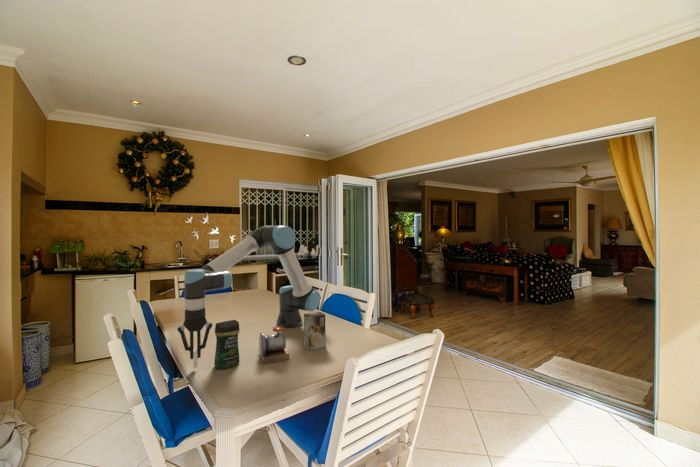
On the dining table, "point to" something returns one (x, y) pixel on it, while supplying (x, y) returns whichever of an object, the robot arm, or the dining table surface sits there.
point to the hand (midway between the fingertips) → (195, 366)
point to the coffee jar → (226, 344)
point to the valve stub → (273, 347)
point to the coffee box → (314, 331)
